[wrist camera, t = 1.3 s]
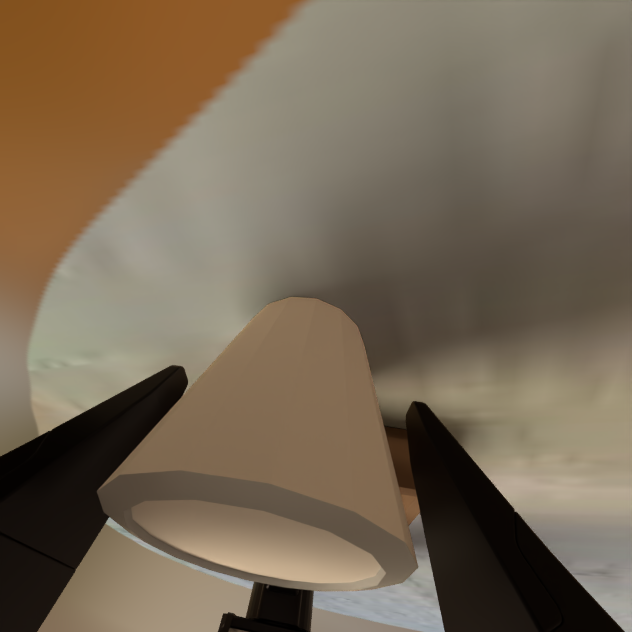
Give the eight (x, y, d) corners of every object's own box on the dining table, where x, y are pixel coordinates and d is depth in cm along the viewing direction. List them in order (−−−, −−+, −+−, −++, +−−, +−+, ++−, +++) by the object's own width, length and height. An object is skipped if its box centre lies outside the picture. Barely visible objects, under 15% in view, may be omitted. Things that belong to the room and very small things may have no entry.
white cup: (212, 292, 10) (4, 470, 4) (374, 272, 8) (436, 496, 3) (260, 397, 13) (188, 576, 7) (380, 395, 12) (413, 611, 6)
